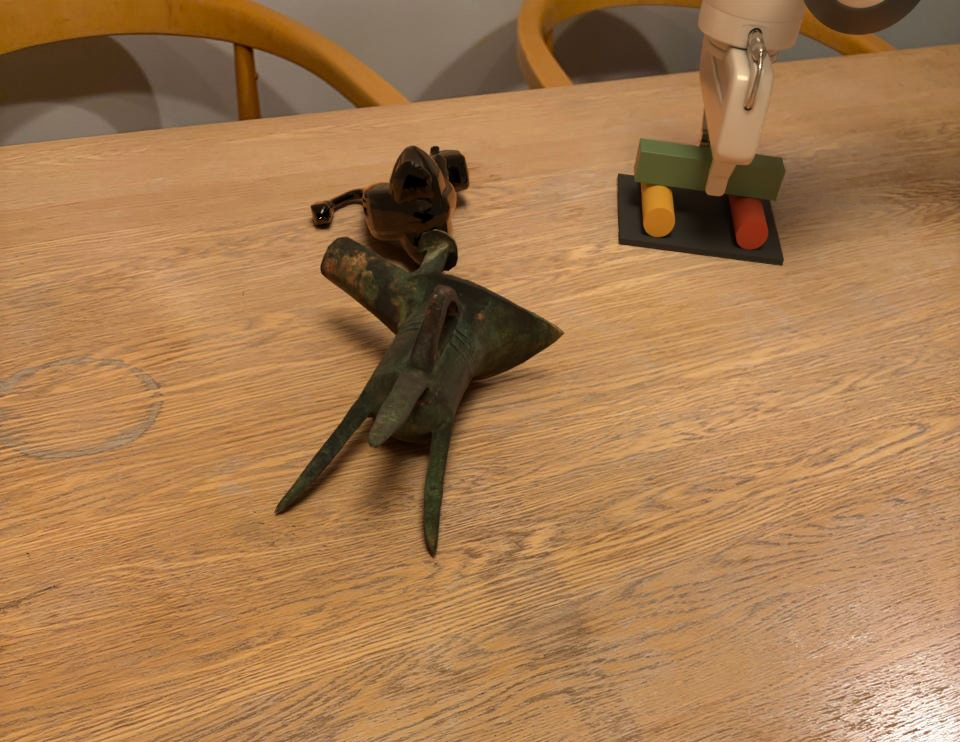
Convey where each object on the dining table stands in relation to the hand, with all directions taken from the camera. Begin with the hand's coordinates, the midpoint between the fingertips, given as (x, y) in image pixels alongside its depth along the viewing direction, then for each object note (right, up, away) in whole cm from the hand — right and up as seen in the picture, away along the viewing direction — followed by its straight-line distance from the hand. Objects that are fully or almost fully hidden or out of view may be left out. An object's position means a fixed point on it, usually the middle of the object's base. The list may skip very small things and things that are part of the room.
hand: (709, 170), depth 99 cm
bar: (0, -1, +1) cm, 2 cm away
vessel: (-28, -30, -23) cm, 47 cm away
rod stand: (-1, -3, +4) cm, 5 cm away
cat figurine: (-31, -7, -3) cm, 32 cm away
